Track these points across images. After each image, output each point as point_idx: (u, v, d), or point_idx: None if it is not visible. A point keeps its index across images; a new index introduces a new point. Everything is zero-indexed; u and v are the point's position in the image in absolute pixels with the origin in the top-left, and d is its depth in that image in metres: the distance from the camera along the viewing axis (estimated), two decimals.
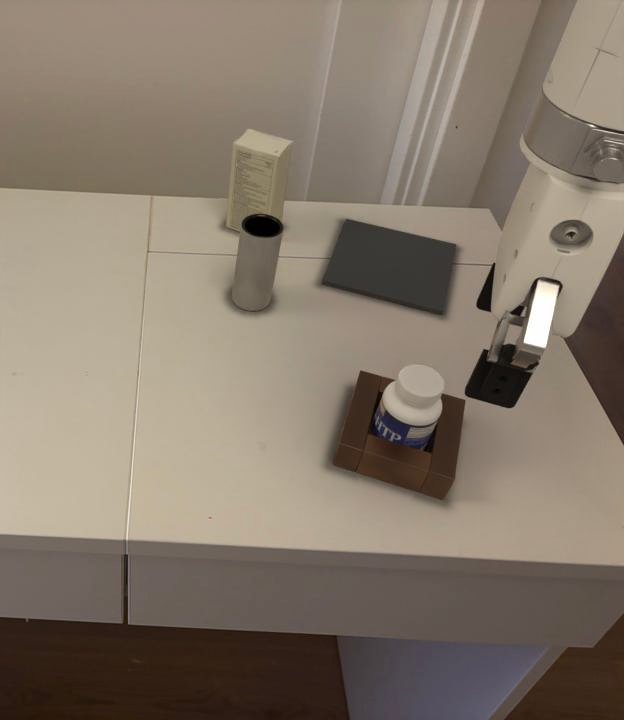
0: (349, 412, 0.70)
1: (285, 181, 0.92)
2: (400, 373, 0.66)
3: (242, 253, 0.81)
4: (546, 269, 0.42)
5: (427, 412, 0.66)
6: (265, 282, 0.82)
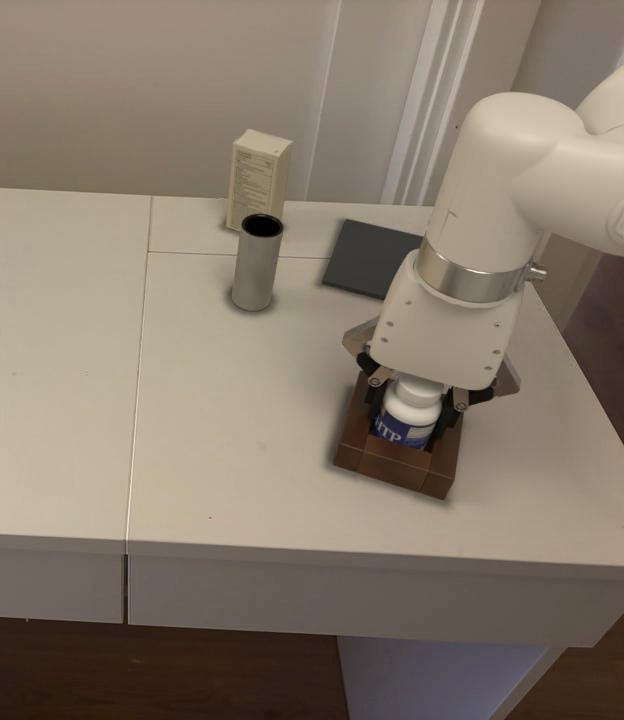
0: (349, 412, 0.70)
1: (285, 181, 0.92)
2: (400, 373, 0.66)
3: (242, 253, 0.81)
4: None
5: (427, 412, 0.66)
6: (265, 282, 0.82)
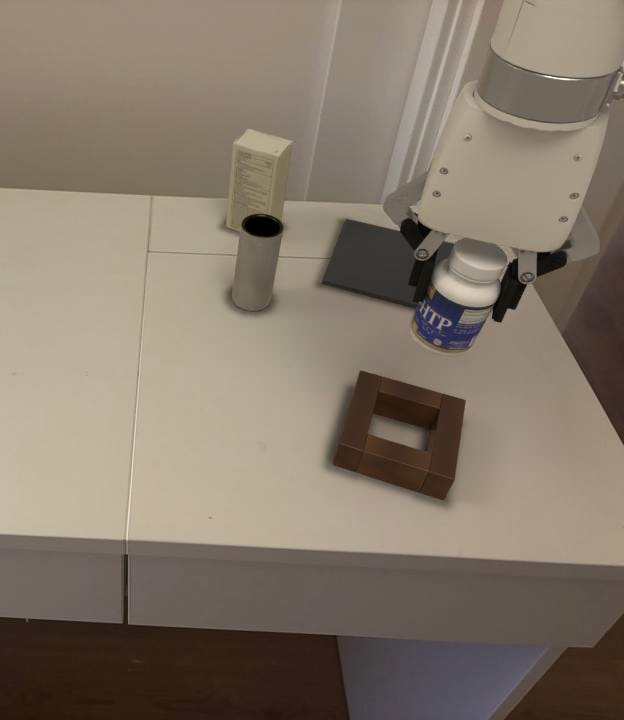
0: (349, 412, 0.70)
1: (285, 181, 0.92)
2: (455, 245, 0.57)
3: (242, 253, 0.81)
4: None
5: (485, 291, 0.56)
6: (265, 282, 0.82)
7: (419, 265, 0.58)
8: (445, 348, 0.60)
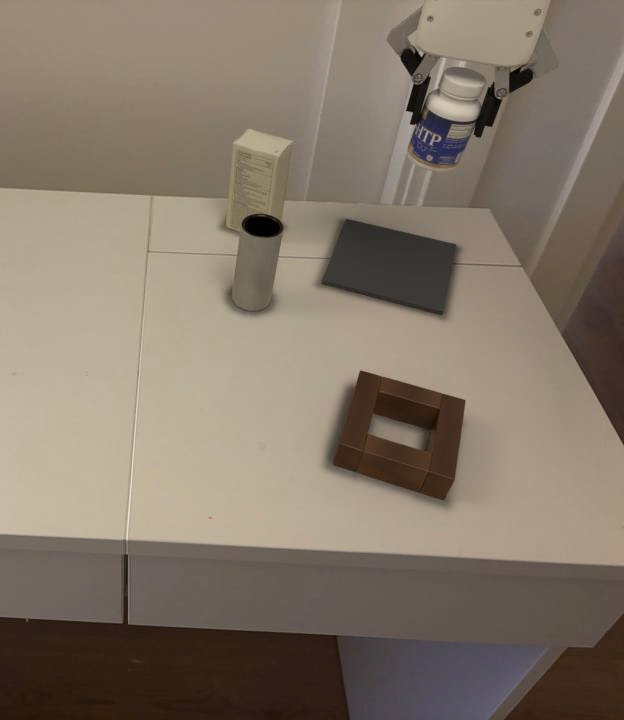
0: (349, 412, 0.70)
1: (285, 181, 0.92)
2: (445, 71, 0.70)
3: (242, 253, 0.81)
4: (548, 6, 0.63)
5: (468, 108, 0.70)
6: (265, 282, 0.82)
7: (415, 90, 0.72)
8: (436, 163, 0.74)
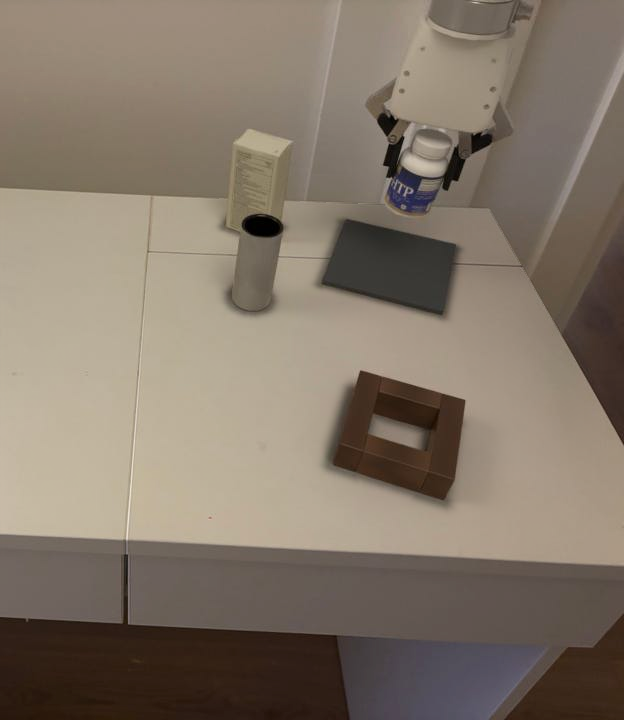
0: (349, 412, 0.70)
1: (285, 181, 0.92)
2: (416, 133, 0.80)
3: (242, 253, 0.81)
4: (503, 83, 0.73)
5: (436, 165, 0.80)
6: (265, 282, 0.82)
7: (390, 149, 0.81)
8: (409, 212, 0.83)
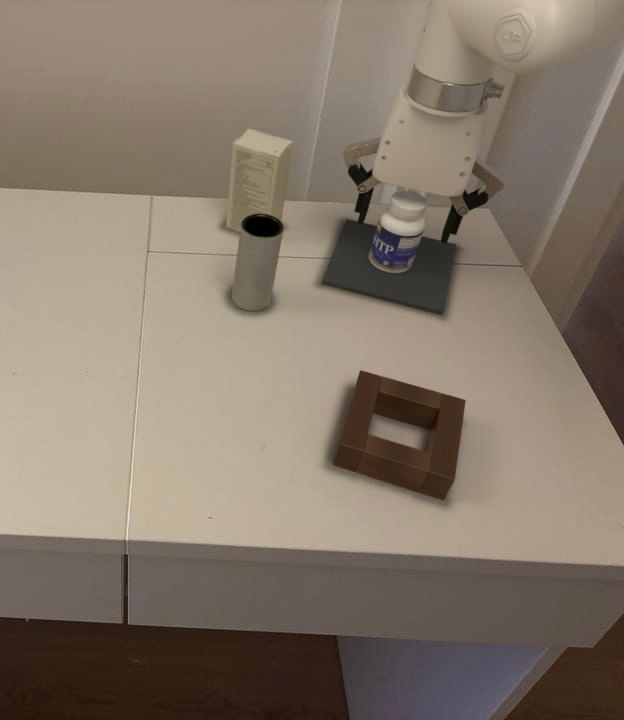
0: (349, 412, 0.70)
1: (285, 181, 0.92)
2: (393, 195, 0.86)
3: (242, 253, 0.81)
4: (477, 152, 0.78)
5: (413, 225, 0.85)
6: (265, 282, 0.82)
7: (361, 197, 0.86)
8: (391, 267, 0.89)
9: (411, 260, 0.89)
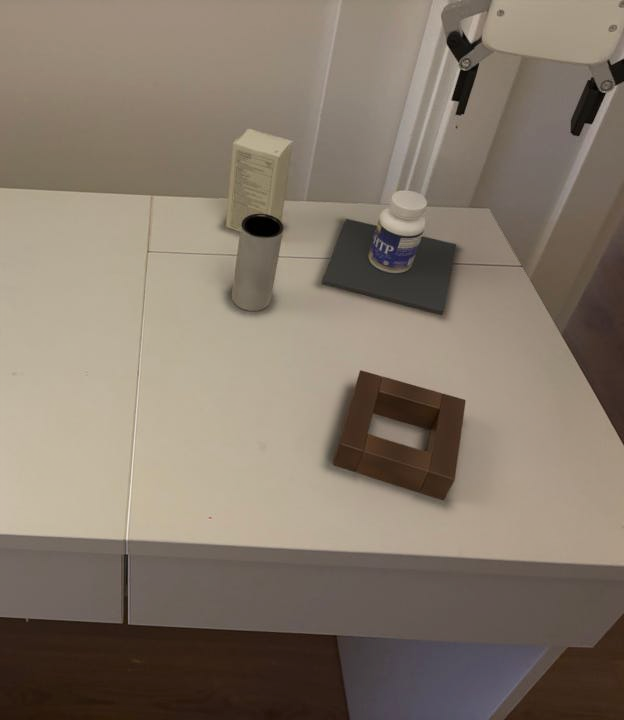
0: (349, 412, 0.70)
1: (285, 181, 0.92)
2: (393, 195, 0.86)
3: (242, 253, 0.81)
4: None
5: (413, 225, 0.85)
6: (265, 282, 0.82)
7: (462, 77, 0.66)
8: (391, 267, 0.89)
9: (411, 260, 0.89)
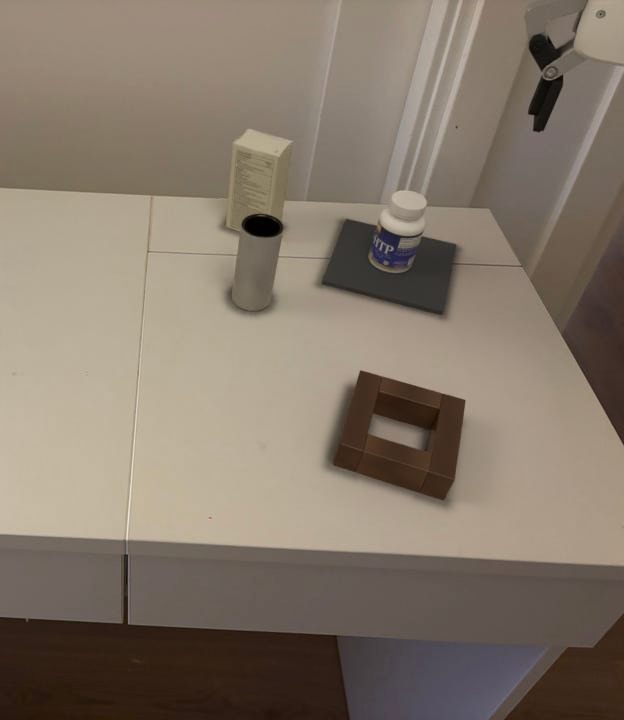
0: (349, 412, 0.70)
1: (285, 181, 0.92)
2: (393, 195, 0.86)
3: (242, 253, 0.81)
4: None
5: (413, 225, 0.85)
6: (265, 282, 0.82)
7: (544, 88, 0.56)
8: (391, 267, 0.89)
9: (411, 260, 0.89)
